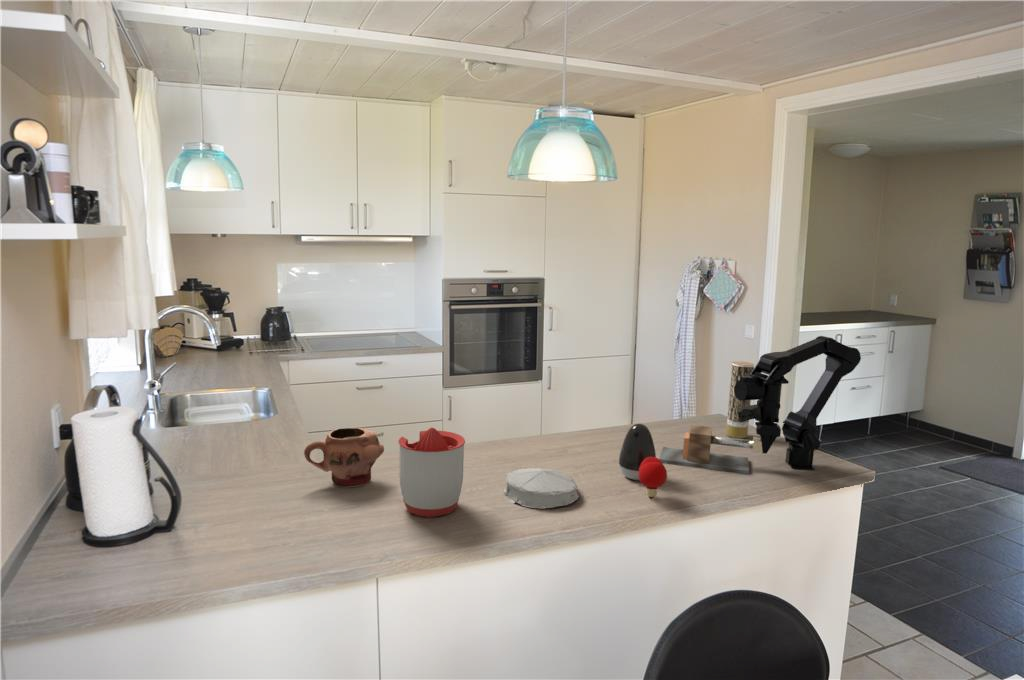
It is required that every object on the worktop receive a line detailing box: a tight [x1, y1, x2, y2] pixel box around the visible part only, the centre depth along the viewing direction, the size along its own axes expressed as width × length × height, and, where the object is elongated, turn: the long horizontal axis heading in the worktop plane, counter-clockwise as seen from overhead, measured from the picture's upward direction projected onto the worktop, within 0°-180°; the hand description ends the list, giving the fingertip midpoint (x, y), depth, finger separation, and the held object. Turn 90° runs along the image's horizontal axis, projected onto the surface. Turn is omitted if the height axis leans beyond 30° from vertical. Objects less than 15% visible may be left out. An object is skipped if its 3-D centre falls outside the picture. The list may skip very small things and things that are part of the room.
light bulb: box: [638, 456, 668, 499], centre depth 170 cm, size 9×7×10 cm
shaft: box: [711, 435, 765, 455], centre depth 196 cm, size 18×4×4 cm, turn 72°
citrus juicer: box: [398, 427, 466, 518], centre depth 159 cm, size 16×17×20 cm
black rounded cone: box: [618, 423, 657, 481], centre depth 183 cm, size 10×10×15 cm
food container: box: [503, 466, 580, 510], centre depth 171 cm, size 20×20×7 cm
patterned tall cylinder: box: [725, 361, 755, 439], centre depth 223 cm, size 7×7×25 cm
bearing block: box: [658, 424, 750, 475], centre depth 198 cm, size 25×12×10 cm, turn 72°
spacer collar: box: [682, 432, 690, 459], centre depth 200 cm, size 1×6×6 cm, turn 162°
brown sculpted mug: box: [303, 427, 385, 488], centre depth 172 cm, size 20×12×14 cm, turn 115°
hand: (764, 451), depth 193 cm, fingers closed on shaft, 4 cm apart
